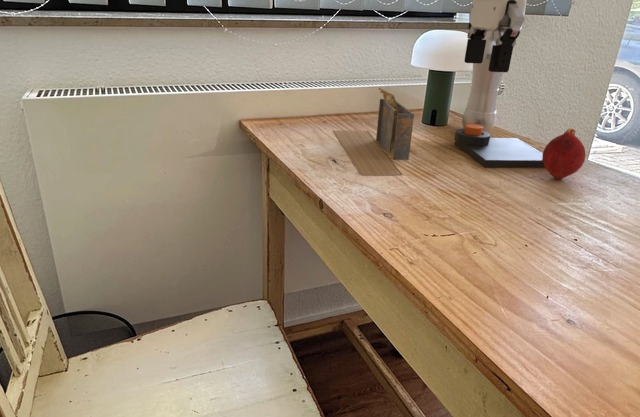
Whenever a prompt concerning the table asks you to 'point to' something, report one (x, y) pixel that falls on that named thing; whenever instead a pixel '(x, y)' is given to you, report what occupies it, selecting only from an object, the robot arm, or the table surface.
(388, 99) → the ruin model on sheet
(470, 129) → the button
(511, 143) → the scale
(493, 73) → the plastic bottle
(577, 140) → the onion
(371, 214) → the table surface
